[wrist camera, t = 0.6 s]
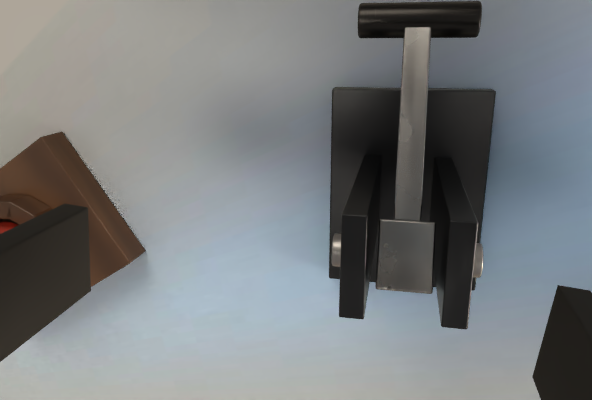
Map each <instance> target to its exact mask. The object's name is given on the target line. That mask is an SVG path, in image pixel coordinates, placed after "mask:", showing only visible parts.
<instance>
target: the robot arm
mask: <svg viewBox="0 0 592 400" xmlns="http://www.w3.org/2000/svg"><path fill="white" fill-rule="evenodd" d="M90 291H91V279H90V250H89V220H88V207H83V206H77V205H71V204H62V205H60V206H58V207H56V208H54V209H52V210H50V211H48V212H46V213H43V214H41V215H39V216H37V217H35V218H33V219H31V220H29V221H26V222H24V223H22V224H20V225H18V226H16V227H14V228H12V229H10V230H7V231H5V232H3V233H1V234H0V362H1V361H2V360H3V359H4V358H6V357H7V356H8V355H10V354H11V353H12V352H13V351H15V350H16V349H17V348H18V347H20V346H21V345H22V344H24V343H25V342H26V341H27V340H29V339H30V338H31V337H32V336H34V335H35V334H36V333H38V332H39V331H40V330H41V329H43V328H44V327H45V326H46V325H48V324H49V323H50V322H52V321H53V320H54V319H55V318H57V317H58V316H59V315H60V314H62V313H63V312H64V311H66V310H67V309H68V308H69V307H71V306H72V305H73V304H74V303H76V302H77V301H78V300H80V299H81V298H82V297H83V296H85V295H86V294H87V293H88V292H90ZM533 379H534V382H535V385H536V387H537V390H538V393H539V395H540V398H541V400H592V293H591V291H589V290H583V289H577V288H571V287H565V286H559V285H558V286H557V290H556V294H555V297H554V301H553V305H552V308H551V312H550V315H549V319H548V323H547V326H546V330H545V333H544V337H543V341H542V344H541V348H540V352H539V355H538V359H537V362H536V366H535V370H534V373H533Z"/></svg>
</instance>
